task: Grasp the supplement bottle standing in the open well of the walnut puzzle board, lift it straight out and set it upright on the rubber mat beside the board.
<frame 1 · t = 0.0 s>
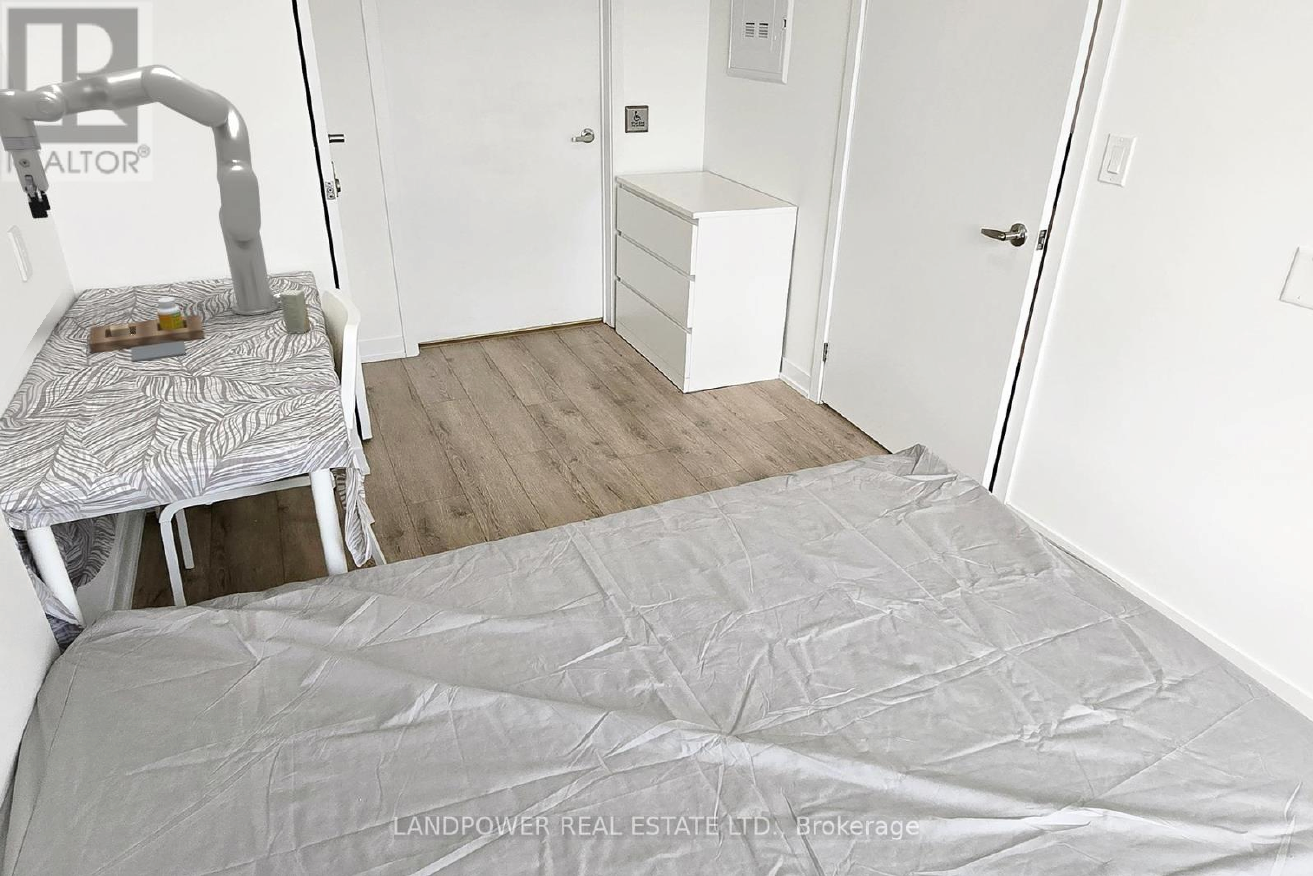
hand: (42, 213, 217), 31 cm above the table, tool pointing down, fingers open, 9 cm apart
rubber mat: (159, 352, 218), on the table
box: (298, 331, 235), on the table
puzzle board: (148, 337, 228), on the table
supplement bottle: (174, 335, 230), resting in puzzle board
maple block: (123, 341, 225), resting in puzzle board
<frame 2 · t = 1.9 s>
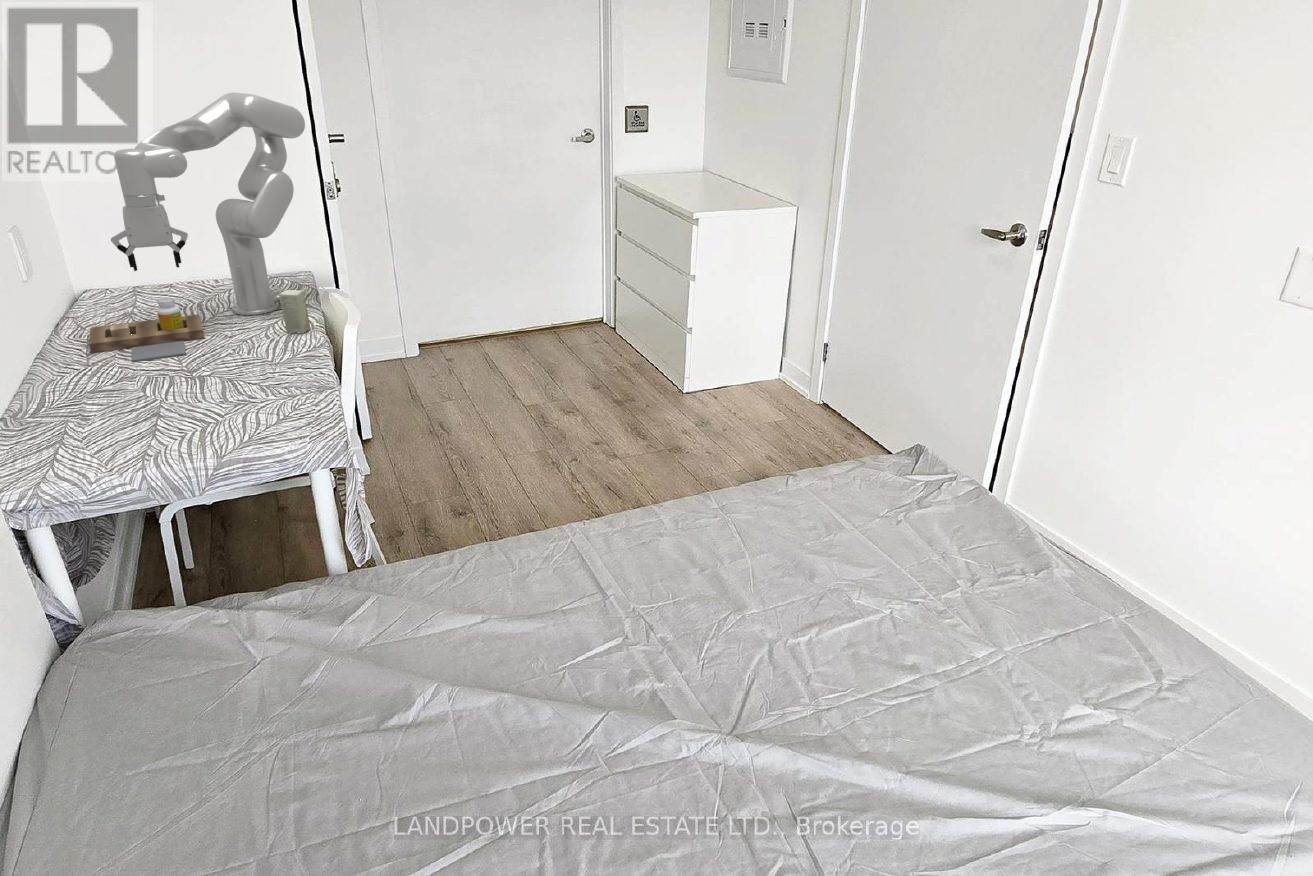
hand: (156, 267, 222), 18 cm above the table, tool pointing down, fingers open, 9 cm apart
nothing on the table moved.
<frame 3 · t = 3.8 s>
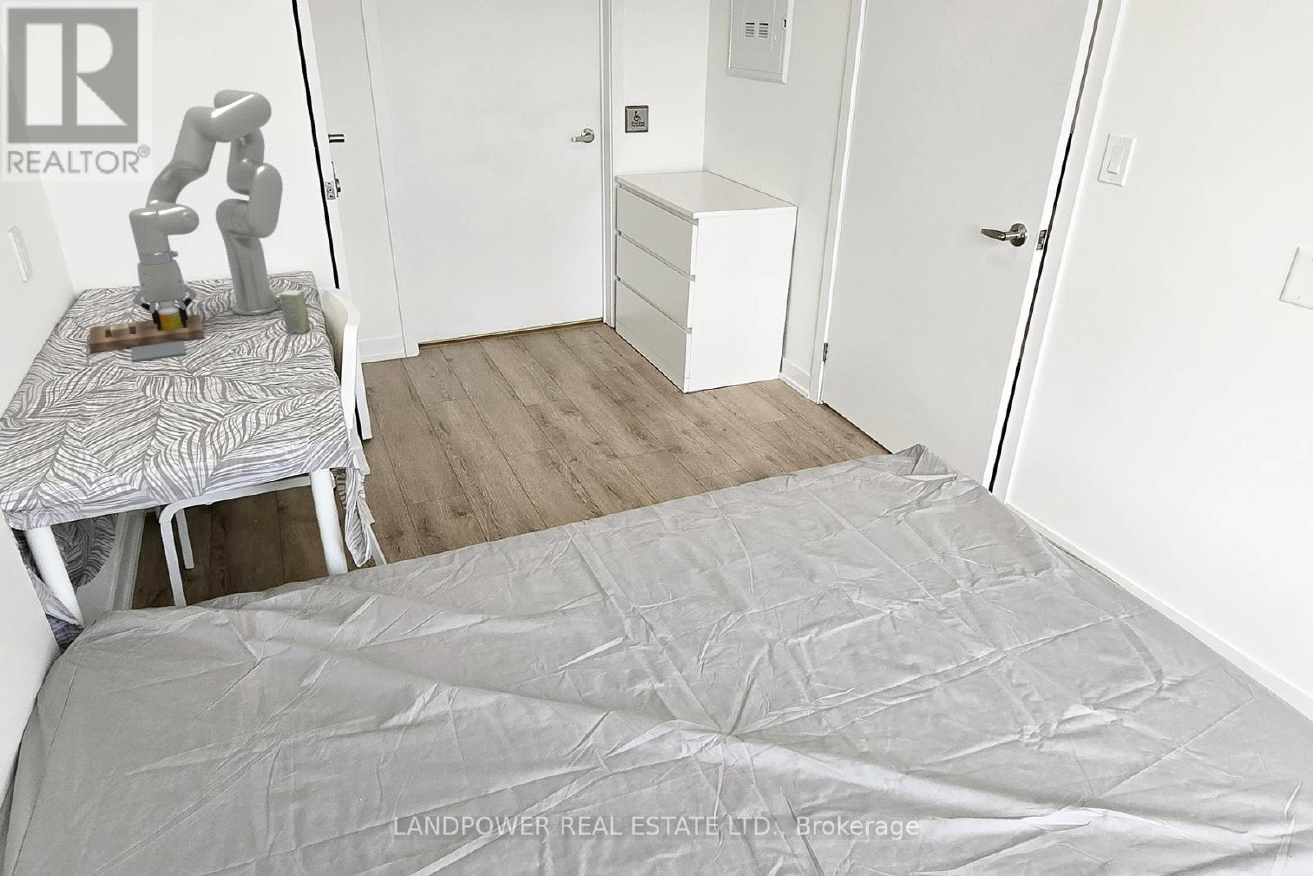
hand: (171, 323, 229), 3 cm above the table, tool pointing down, fingers closed on supplement bottle, 5 cm apart
supplement bottle: (174, 334, 230), resting in puzzle board, touching gripper
everything else where it was.
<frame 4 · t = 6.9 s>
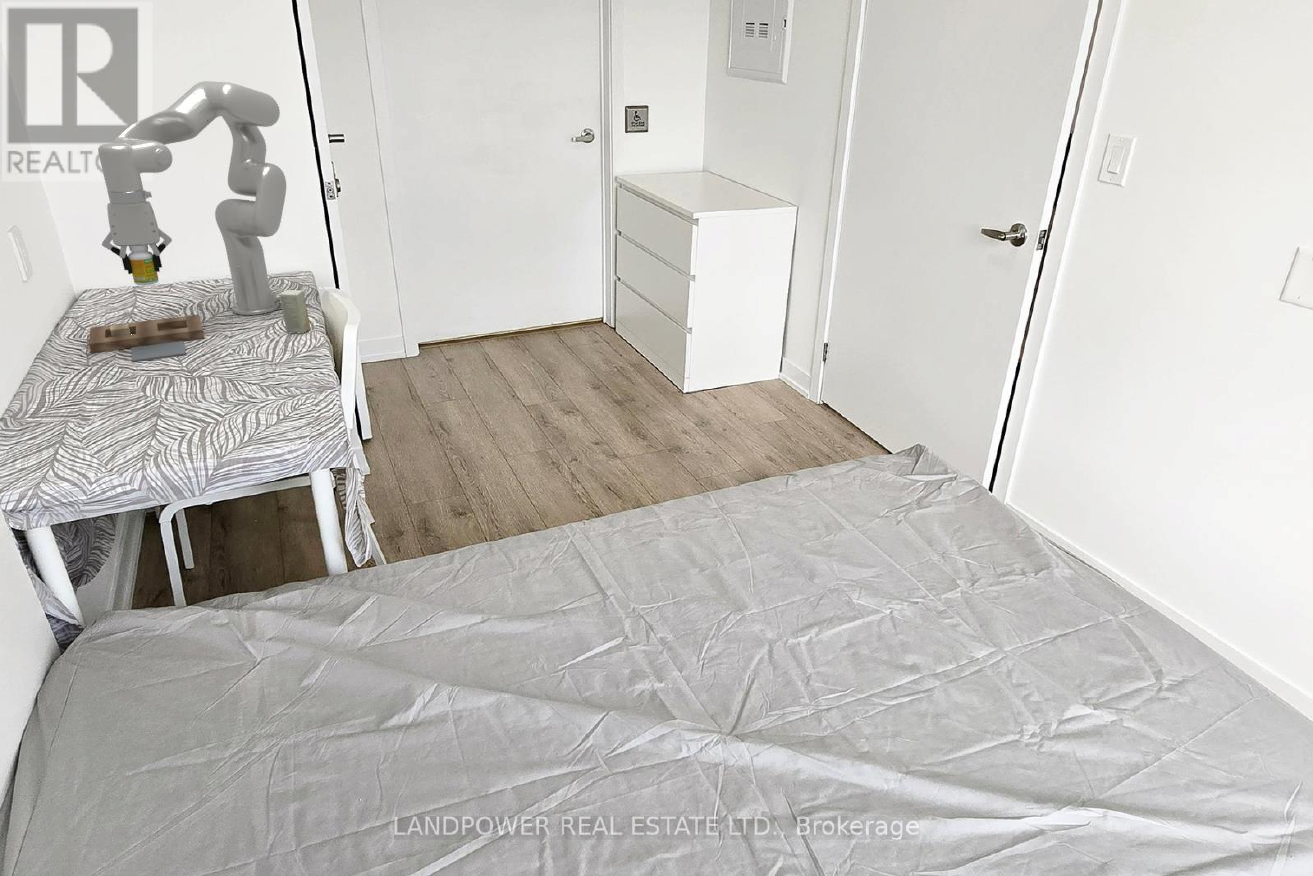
hand: (144, 270, 213), 20 cm above the table, tool pointing down, fingers closed on supplement bottle, 5 cm apart
supplement bottle: (147, 283, 214), point 17 cm above the table, touching gripper
everything else where it was.
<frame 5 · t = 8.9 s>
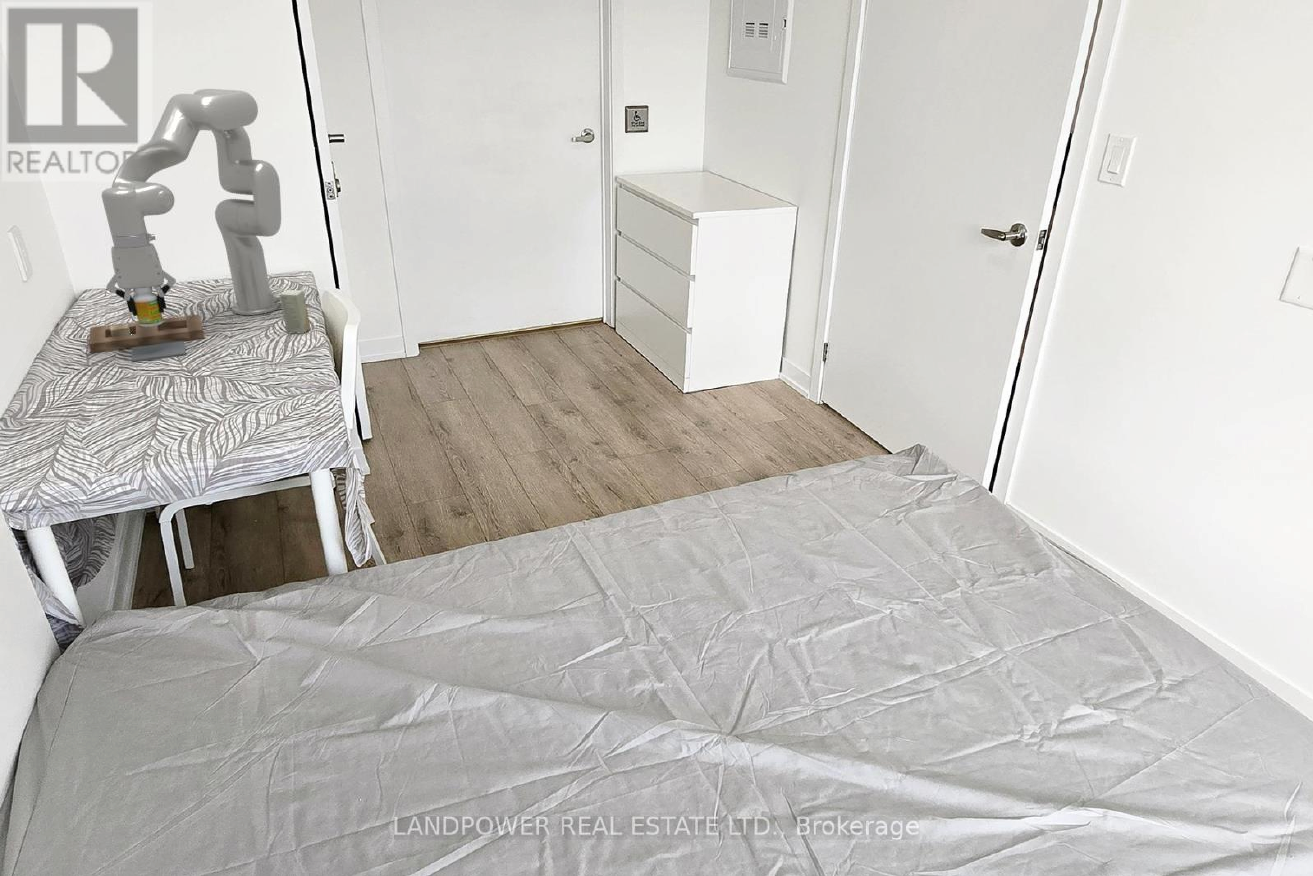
hand: (148, 312, 213), 11 cm above the table, tool pointing down, fingers closed on supplement bottle, 5 cm apart
supplement bottle: (151, 324, 215), point 7 cm above the table, touching gripper
everything else where it was.
when the fingers open (5 cm above the table, at t = 10.4 s): supplement bottle drops 1 cm, resting on rubber mat.
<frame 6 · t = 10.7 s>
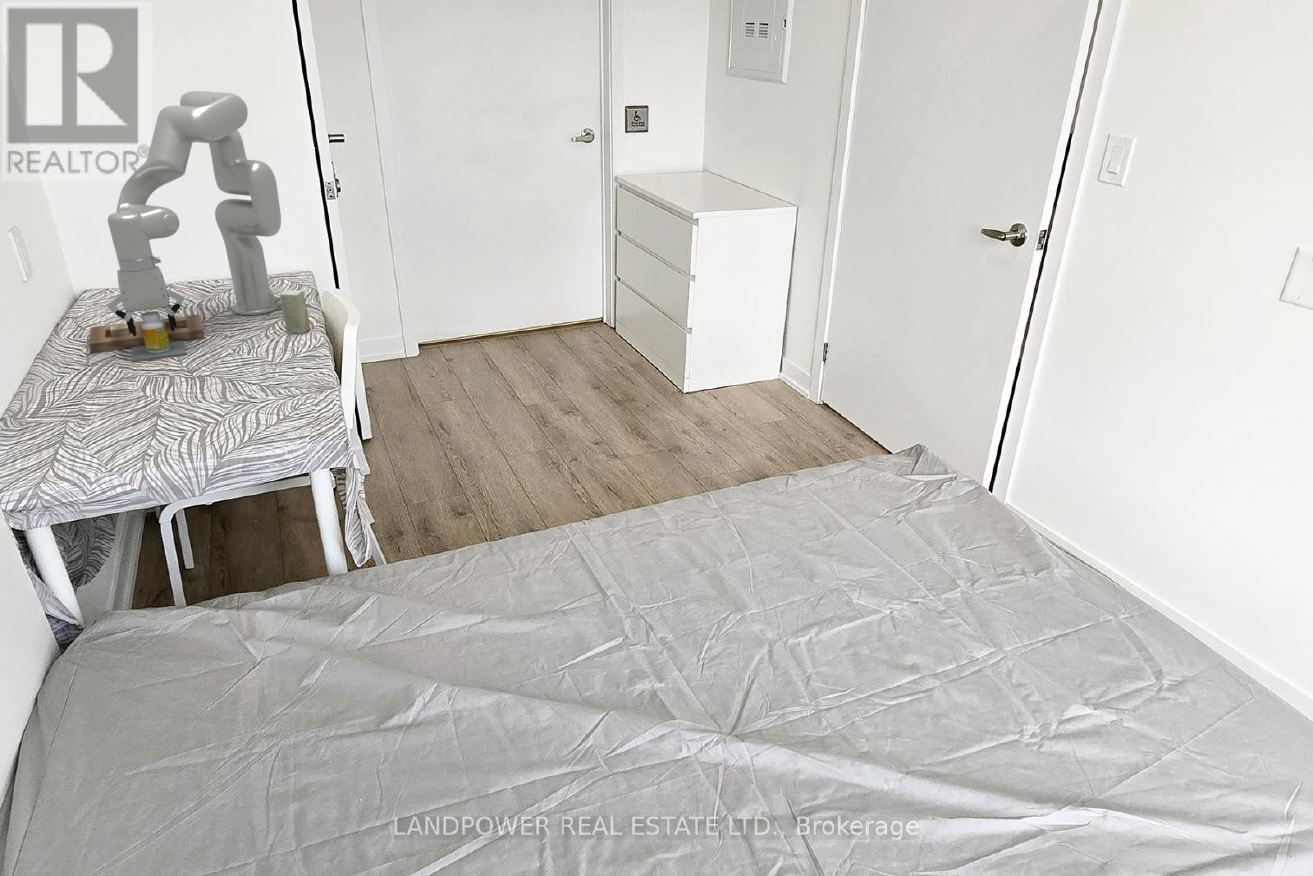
hand: (153, 331, 216), 5 cm above the table, tool pointing down, fingers open, 8 cm apart
supplement bottle: (159, 350, 218), resting on rubber mat
everything else where it was.
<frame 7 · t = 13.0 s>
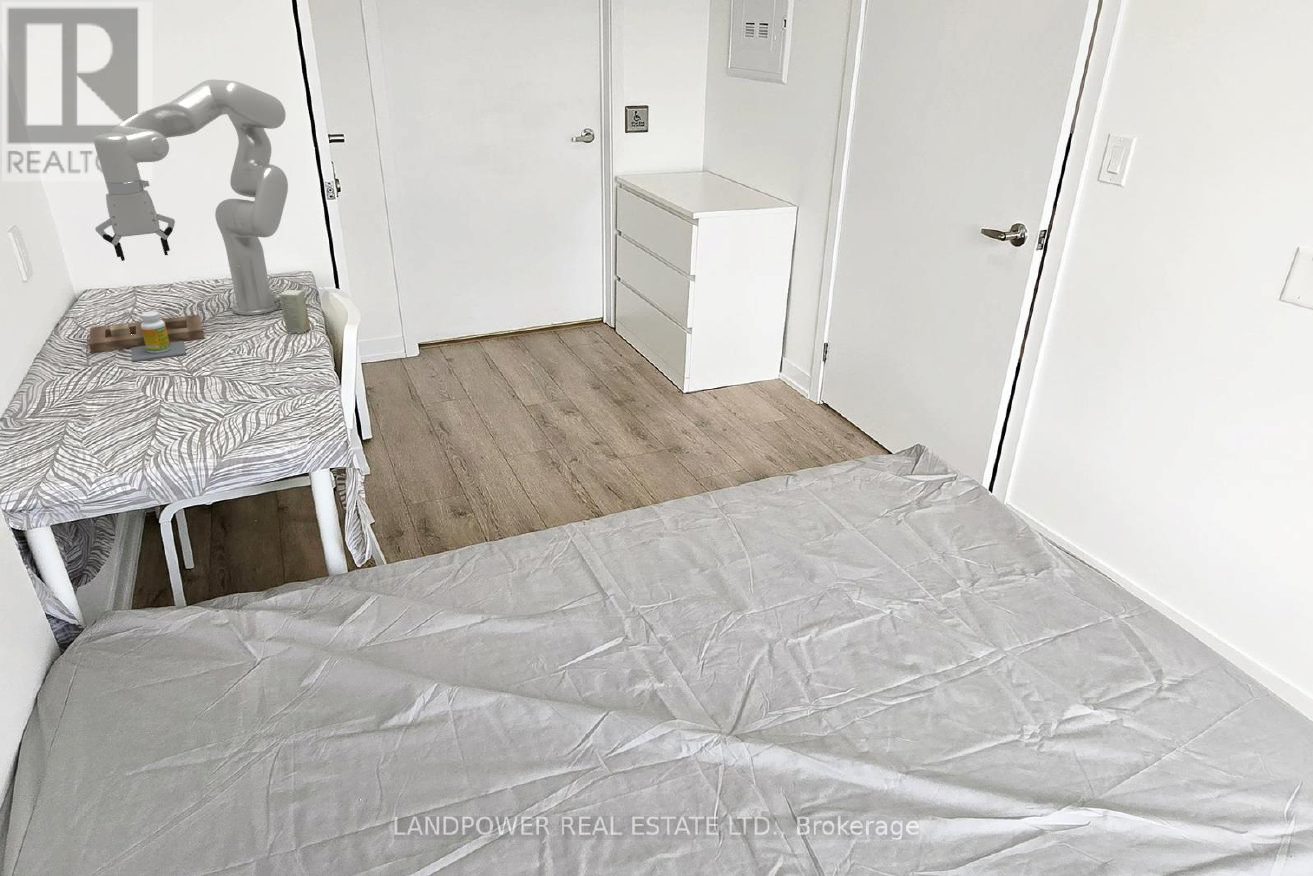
hand: (144, 256, 215), 23 cm above the table, tool pointing down, fingers open, 9 cm apart
nothing on the table moved.
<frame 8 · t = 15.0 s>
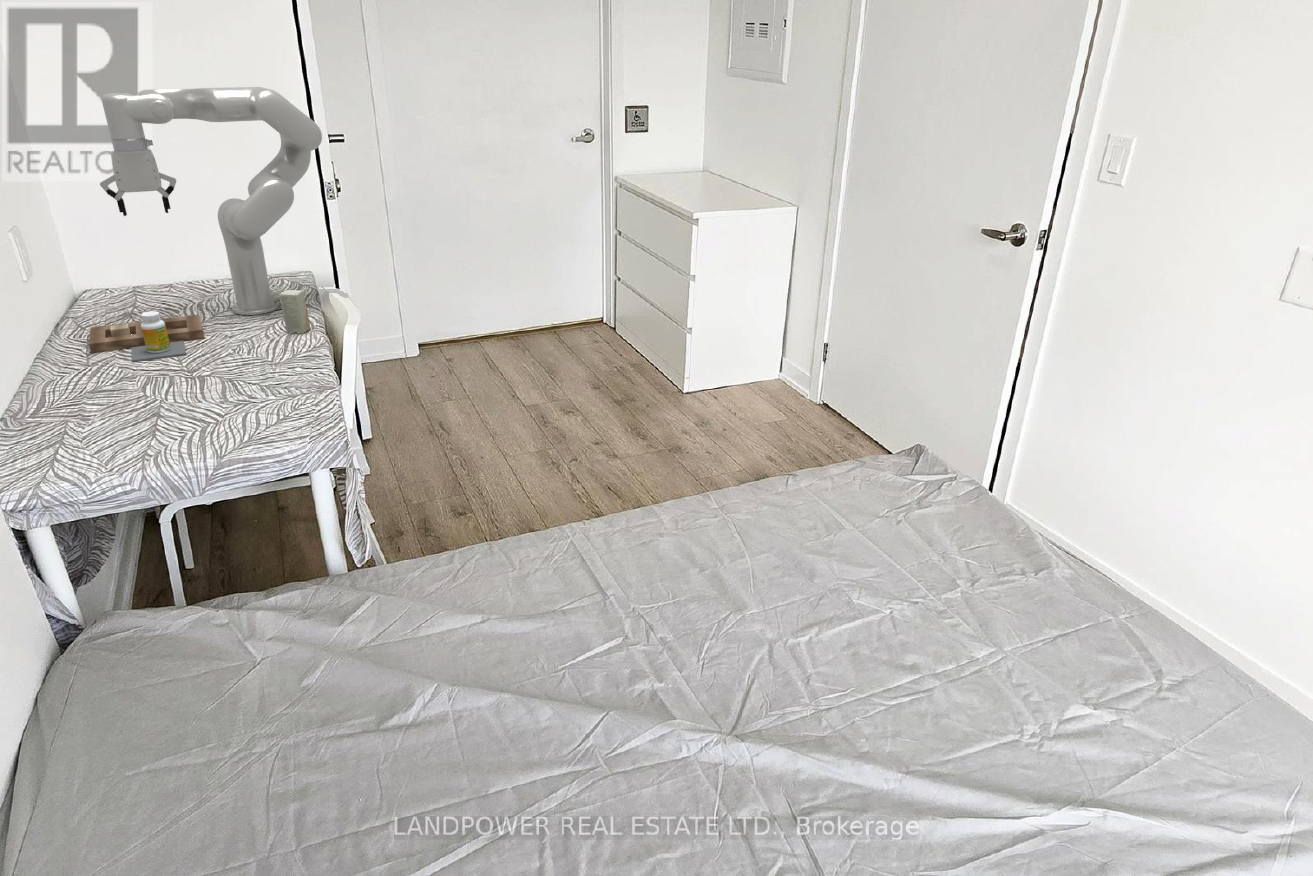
hand: (146, 213, 224), 30 cm above the table, tool pointing down, fingers open, 9 cm apart
nothing on the table moved.
at the end: supplement bottle inside the target area on the rubber mat (0.2 cm from its centre), point 0.3 cm above the rubber mat's base; supplement bottle tilted 0°; the gripper is holding nothing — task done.
